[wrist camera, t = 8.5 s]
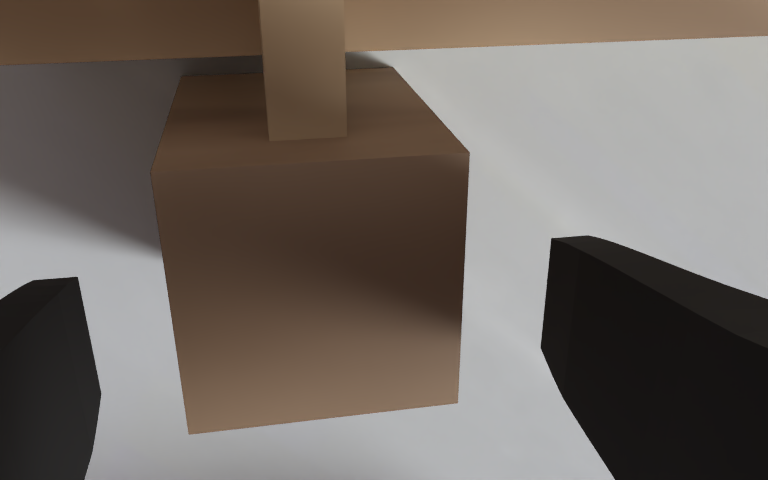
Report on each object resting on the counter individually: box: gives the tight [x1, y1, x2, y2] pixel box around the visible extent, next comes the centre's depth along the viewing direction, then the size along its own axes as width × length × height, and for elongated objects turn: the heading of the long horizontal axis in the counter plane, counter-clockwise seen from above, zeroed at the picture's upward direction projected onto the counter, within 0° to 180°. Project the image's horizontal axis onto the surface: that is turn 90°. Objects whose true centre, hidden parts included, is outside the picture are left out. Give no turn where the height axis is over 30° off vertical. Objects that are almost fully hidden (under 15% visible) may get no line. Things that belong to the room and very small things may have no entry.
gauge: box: [150, 0, 470, 434], centre depth 13 cm, size 9×4×6 cm, turn 0°
